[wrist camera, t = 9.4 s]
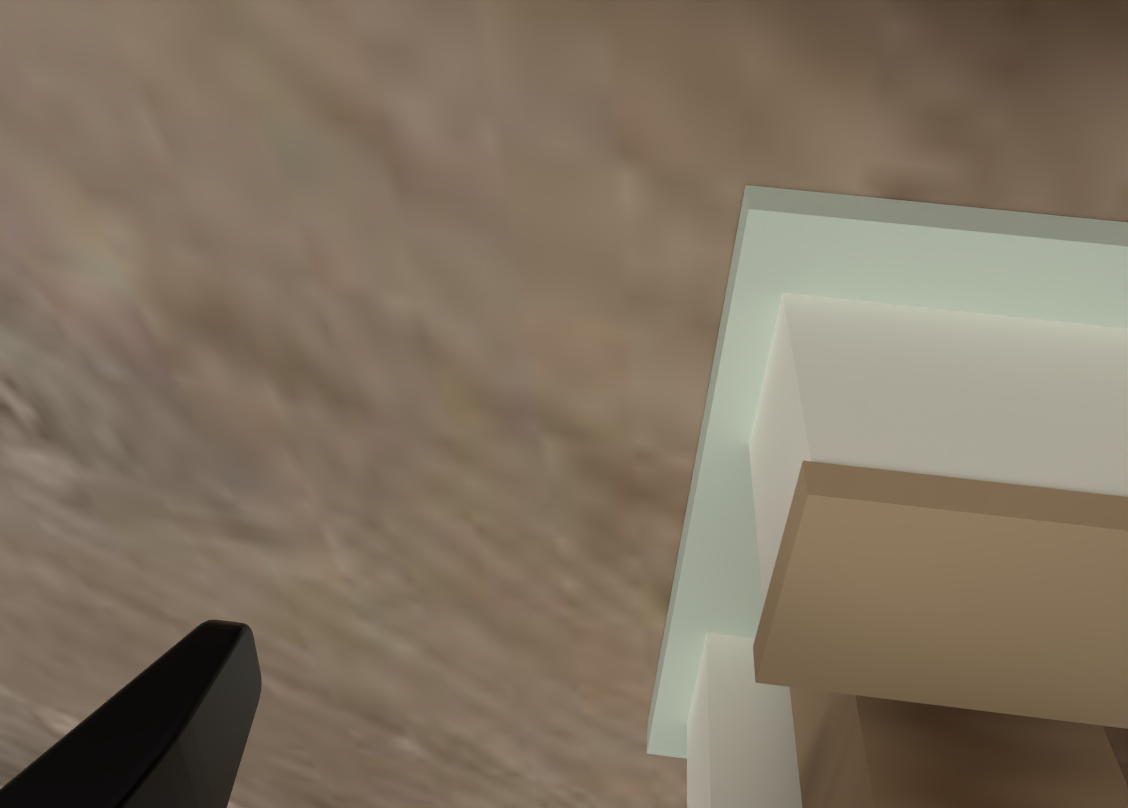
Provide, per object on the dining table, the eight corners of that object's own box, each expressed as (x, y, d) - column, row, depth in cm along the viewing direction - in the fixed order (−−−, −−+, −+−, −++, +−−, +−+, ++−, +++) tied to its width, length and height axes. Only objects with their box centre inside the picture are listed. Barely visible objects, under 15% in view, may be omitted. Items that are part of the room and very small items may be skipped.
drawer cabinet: (1244, 234, 19) (1523, 486, 13) (967, 760, 30) (1043, 1041, 23) (746, 185, 19) (773, 404, 13) (648, 720, 30) (637, 984, 24)
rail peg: (1021, 506, 22) (1215, 957, 14) (958, 641, 25) (1089, 1083, 17) (814, 482, 22) (886, 912, 14) (775, 619, 25) (817, 1044, 17)
